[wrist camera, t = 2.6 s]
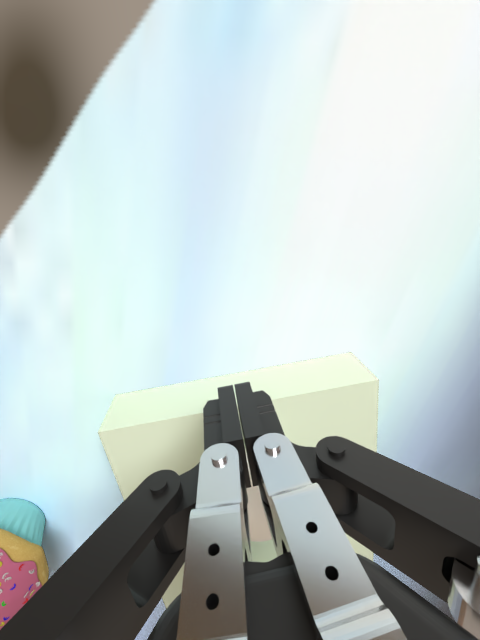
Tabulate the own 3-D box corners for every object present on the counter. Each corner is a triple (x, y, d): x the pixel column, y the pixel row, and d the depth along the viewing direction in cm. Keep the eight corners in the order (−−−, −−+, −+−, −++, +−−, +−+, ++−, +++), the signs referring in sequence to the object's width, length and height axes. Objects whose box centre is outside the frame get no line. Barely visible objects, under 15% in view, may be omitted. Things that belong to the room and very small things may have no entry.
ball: (283, 423, 20) (307, 488, 16) (289, 478, 22) (312, 552, 17) (208, 437, 20) (209, 508, 15) (220, 492, 22) (225, 571, 17)
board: (350, 352, 24) (606, 605, 9) (352, 521, 30) (495, 824, 16) (87, 399, 22) (-141, 784, 8) (150, 563, 29) (96, 934, 14)
